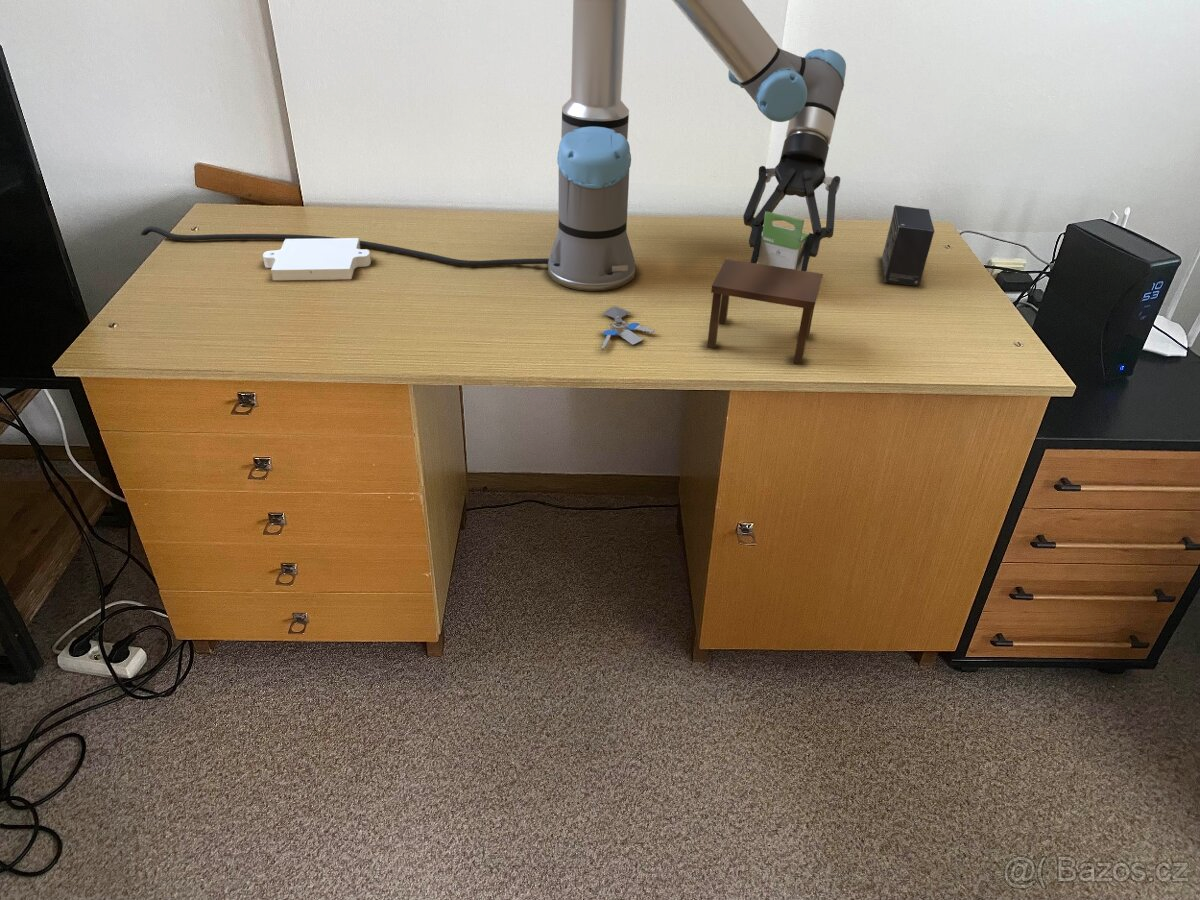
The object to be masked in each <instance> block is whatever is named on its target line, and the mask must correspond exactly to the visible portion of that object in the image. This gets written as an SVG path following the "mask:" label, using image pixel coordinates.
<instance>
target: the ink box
mask: <svg viewBox="0 0 1200 900" xmlns="http://www.w3.org/2000/svg"><path fill="white" fill-rule="evenodd" d="M776 221H777V222H778V221H780V222H781V221H783V222H785V223H788V224H790V225H792V226H793V228H787V227H783V226H779V225H775V224H774V223H773V222H776ZM804 224H805V219H802V218H797V217H793V216H788V215H784V214H779V213H775V212H772V213H771V212H767V211H765V218H764V225H763V226H764V227H763V232H762V235H761V242H760V249H759V256H758V260H757V264H763V265H769V266H775V267H782V268H788V269H795V270H801V268H802V263H803V259H804V254H805V250H806V246H807V241H808V237H809V233H805V232H803V230H804Z"/></svg>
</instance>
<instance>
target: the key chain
mask: <svg viewBox="0 0 1200 900" xmlns="http://www.w3.org/2000/svg"><path fill="white" fill-rule="evenodd" d="M629 314H631V312H630V311H629V310H626V309H623V308H621V307H619V306H612V307H610V308H609V309H607V310H605V311H604V312H602V315H605V316H607V317H610V318H612V319H613V320H614V322H612V323H609V324H608V326H607V327H608V329H606V330H604V331H602V335H603V336H606V337H605V339H604V341H603V343H602V346H601V350H604V349H605V348H606V347H607V346H608V343H609V341H610V340H611V337H616V336H617V335H618V336H619V337H620V338H622V339H624V340H625V341H626V342H628V343H629V344H631V345H632V346H634V345H636V344H637V343H640V342H642V341H643V340H644V339H643V338H642V337H640V336H639V335H637V334H636V333H634V332H633V331H641V332H646V333H649V334H653V333H655V330H656V329H652V328H649V327H645V326H641V323H639V322H630V323H628V322H626V321H624V320H623V318H624V317H626V316H627V315H629ZM611 325H612V326H613V328H615V329H613V328H612V329H611V327H610V326H611ZM618 329H619V330H622V331H619V330H618Z"/></svg>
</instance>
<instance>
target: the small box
mask: <svg viewBox="0 0 1200 900" xmlns="http://www.w3.org/2000/svg"><path fill="white" fill-rule="evenodd" d="M934 233H935V227H934V223H933V221H932V217H931V213H930V209H927V208H919V207H911V206H903V205H897V204H895V205H894V207H893V210H892V216H891V221H890V225H889V228H888V232H887V236H886V241H885V244H884V247H883V250H882V251H883V252H882V255H881V258H880V259H881V269H882V277H883V283H890V284H896V285H897V284H899V285H906V286H915V287H919V286H920V285H921V284H920V283H921V280H922V277H923V273H924V270H925V266H926V262H927V259H928V255H929V253H930V248H931V245H932V240H933V237H934Z"/></svg>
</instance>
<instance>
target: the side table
mask: <svg viewBox="0 0 1200 900" xmlns="http://www.w3.org/2000/svg"><path fill="white" fill-rule="evenodd" d="M750 262H751V261H750ZM750 262H749V261H743V260H736V259H729V258H724V260H723V262H722V264H721V266H720V268H719V269H718V272H717V274H716V276H715V278H714V280H713V282H712V284H711V288H710V293H711V294H712V300H711V310H710V318H709V327H708V336H707V343H706V345H707V346H706V348H707V349H708V348H709V349H714V350H715V349H716V346H717V343H718V342H717V341H718V333H719V324H720V325H726V323H727V320H728V312H729V306H730V297H735V298H740V299H746V300H752V301H759V302H766V303H770V304H777V305H782V306H787V307H788V306H789V307H796V308H801V309H802V314H801V317H800V323H799V329H798V334H797V335H798V336H797V341H796V345H795V351H794V356H793V362H792V363H793V364H798V365H801V364H802V363H803V358H804V353H805V348H806V342H807V339H809V336H810V332H811V326H812V322H813V316H814V312H815V311H814V310H815V307H816V303H817V299H818V295H819V292H820V288H821V285H822V280H823V275H824V274H823V273H819V272H813V271H801V270H795V269H788V268H782V267H775V266H769V265H763V264H756V263H750Z"/></svg>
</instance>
